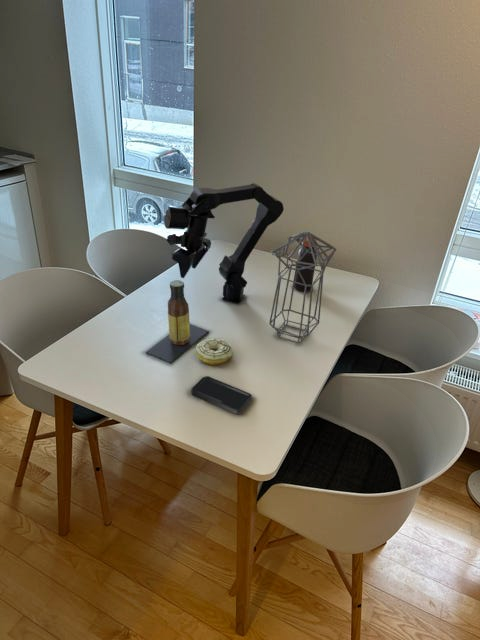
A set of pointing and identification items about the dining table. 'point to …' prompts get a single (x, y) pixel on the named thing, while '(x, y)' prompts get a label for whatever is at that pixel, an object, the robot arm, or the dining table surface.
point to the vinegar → (305, 273)
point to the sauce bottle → (178, 314)
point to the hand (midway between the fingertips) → (188, 272)
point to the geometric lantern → (315, 244)
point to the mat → (172, 351)
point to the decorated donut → (214, 351)
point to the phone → (221, 394)
